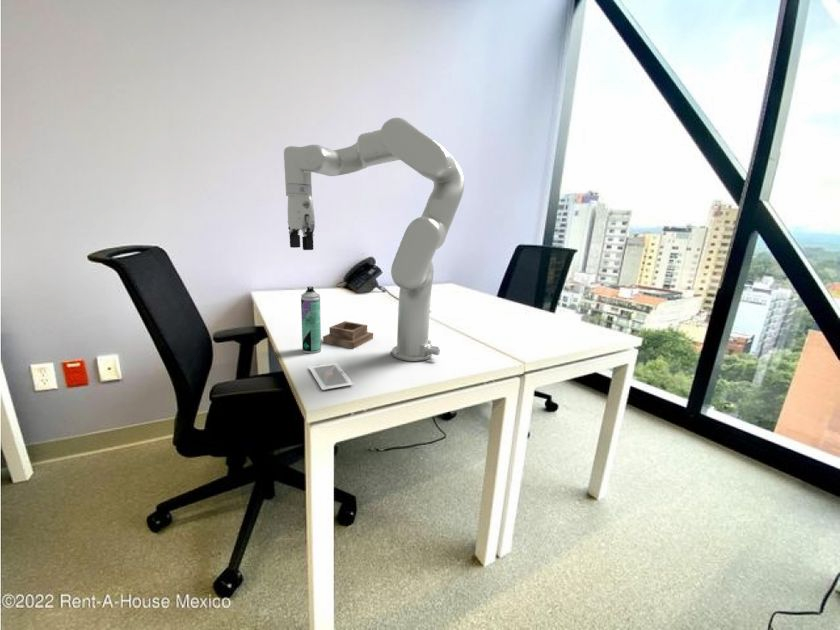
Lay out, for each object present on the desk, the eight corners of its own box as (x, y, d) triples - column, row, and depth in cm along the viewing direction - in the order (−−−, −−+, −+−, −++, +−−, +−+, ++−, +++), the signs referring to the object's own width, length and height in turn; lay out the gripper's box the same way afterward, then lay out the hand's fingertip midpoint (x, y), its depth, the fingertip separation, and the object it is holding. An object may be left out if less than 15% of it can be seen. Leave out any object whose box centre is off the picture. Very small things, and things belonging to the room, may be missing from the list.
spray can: (315, 346, 119) (314, 284, 114) (324, 351, 116) (323, 287, 111) (299, 349, 116) (297, 286, 110) (308, 355, 112) (306, 289, 107)
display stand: (373, 338, 130) (373, 324, 128) (354, 348, 119) (354, 333, 118) (343, 332, 134) (343, 319, 133) (323, 342, 123) (322, 327, 122)
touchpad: (322, 393, 89) (322, 385, 89) (308, 370, 102) (308, 363, 102) (353, 388, 93) (354, 380, 93) (336, 366, 106) (336, 359, 105)
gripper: (323, 191, 109) (325, 250, 113) (299, 193, 122) (301, 246, 126) (298, 189, 104) (301, 251, 109) (276, 191, 117) (279, 246, 121)
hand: (301, 248), depth 117 cm, fingers open, 9 cm apart
